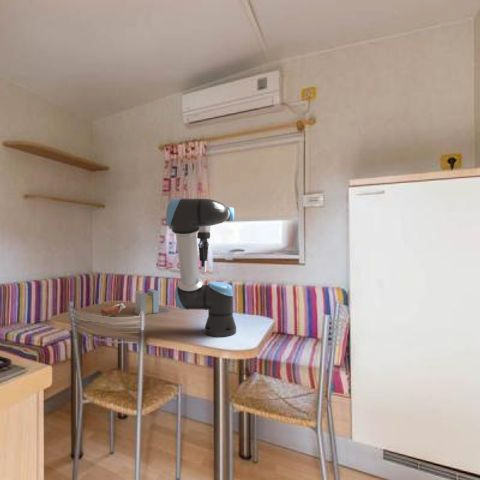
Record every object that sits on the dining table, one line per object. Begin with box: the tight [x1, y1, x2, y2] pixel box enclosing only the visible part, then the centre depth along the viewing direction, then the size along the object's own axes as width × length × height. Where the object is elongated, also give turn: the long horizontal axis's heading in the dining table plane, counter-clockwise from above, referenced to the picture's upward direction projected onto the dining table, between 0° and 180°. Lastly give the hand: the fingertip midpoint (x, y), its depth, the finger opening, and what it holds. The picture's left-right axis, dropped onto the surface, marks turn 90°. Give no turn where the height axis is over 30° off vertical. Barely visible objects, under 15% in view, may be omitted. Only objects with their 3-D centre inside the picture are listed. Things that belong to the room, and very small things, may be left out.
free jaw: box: [147, 288, 160, 314], centre depth 172 cm, size 3×10×12 cm, turn 35°
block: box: [146, 293, 153, 315], centre depth 169 cm, size 4×8×10 cm, turn 35°
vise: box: [134, 290, 170, 316], centre depth 171 cm, size 17×11×13 cm, turn 125°
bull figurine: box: [100, 302, 126, 317], centre depth 159 cm, size 4×13×8 cm, turn 138°
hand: (203, 271), depth 172 cm, fingers closed
